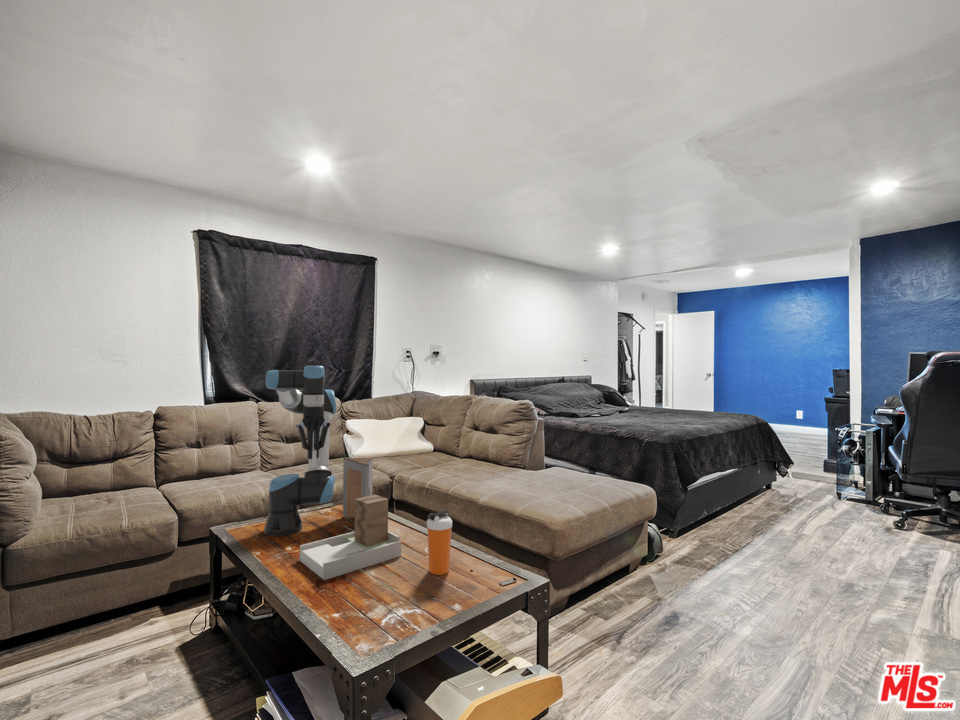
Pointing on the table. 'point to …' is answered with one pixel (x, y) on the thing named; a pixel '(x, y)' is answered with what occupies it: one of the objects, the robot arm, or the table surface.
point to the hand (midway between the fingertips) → (312, 466)
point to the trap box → (346, 554)
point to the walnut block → (371, 520)
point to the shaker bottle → (439, 542)
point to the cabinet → (355, 483)
